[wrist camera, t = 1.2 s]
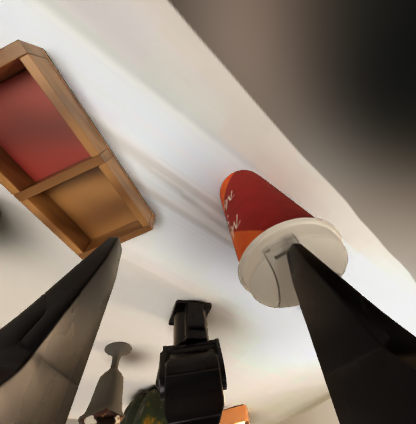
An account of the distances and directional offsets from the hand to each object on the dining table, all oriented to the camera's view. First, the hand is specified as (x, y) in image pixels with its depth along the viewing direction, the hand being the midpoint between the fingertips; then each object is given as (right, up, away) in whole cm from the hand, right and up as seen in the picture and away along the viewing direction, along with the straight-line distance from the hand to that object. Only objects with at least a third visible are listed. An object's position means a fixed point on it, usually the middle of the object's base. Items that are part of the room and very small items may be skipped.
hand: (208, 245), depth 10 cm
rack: (-14, +6, +11) cm, 19 cm away
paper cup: (+4, +4, +15) cm, 16 cm away
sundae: (-18, -25, +29) cm, 42 cm away
